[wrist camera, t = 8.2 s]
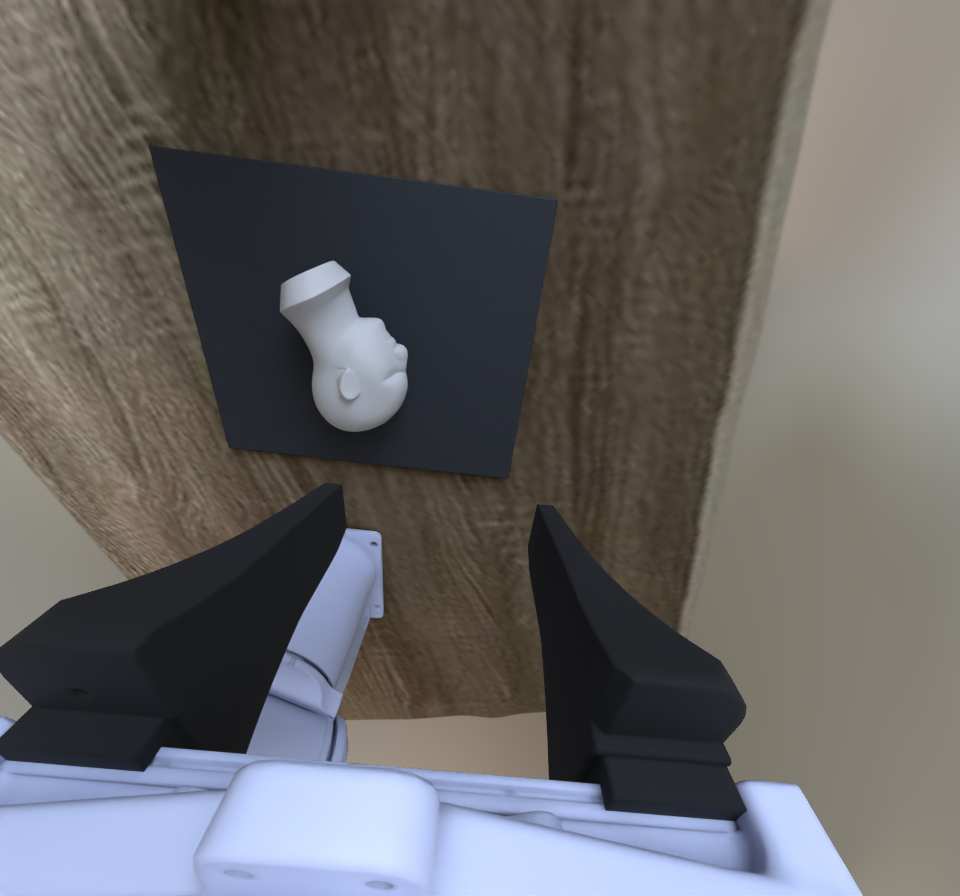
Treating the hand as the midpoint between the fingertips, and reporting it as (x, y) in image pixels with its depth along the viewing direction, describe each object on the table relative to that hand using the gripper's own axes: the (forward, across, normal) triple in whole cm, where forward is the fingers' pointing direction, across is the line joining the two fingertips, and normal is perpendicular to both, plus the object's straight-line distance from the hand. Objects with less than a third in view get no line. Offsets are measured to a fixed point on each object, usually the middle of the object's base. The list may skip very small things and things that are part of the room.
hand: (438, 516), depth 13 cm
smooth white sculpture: (+9, +5, -4) cm, 11 cm away
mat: (+9, +5, -4) cm, 12 cm away
